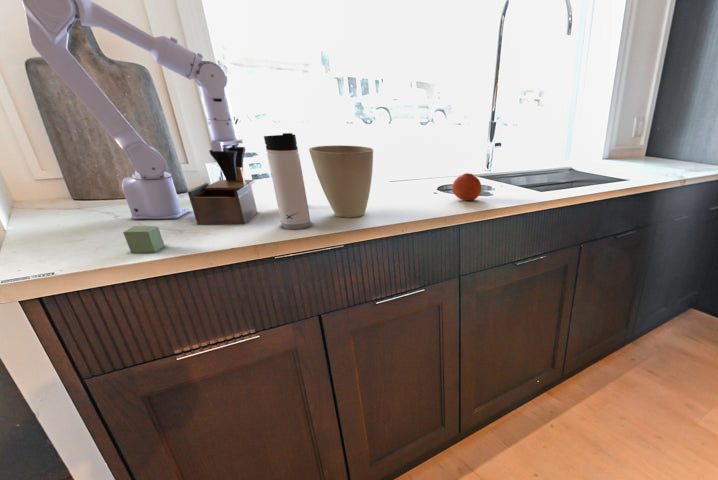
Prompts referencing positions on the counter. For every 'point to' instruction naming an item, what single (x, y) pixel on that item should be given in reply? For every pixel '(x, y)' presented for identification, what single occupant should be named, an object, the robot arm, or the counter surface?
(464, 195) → the fruit
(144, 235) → the block
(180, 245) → the counter surface
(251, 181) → the lid
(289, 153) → the travel mug
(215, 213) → the box
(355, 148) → the plant pot
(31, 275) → the counter surface
